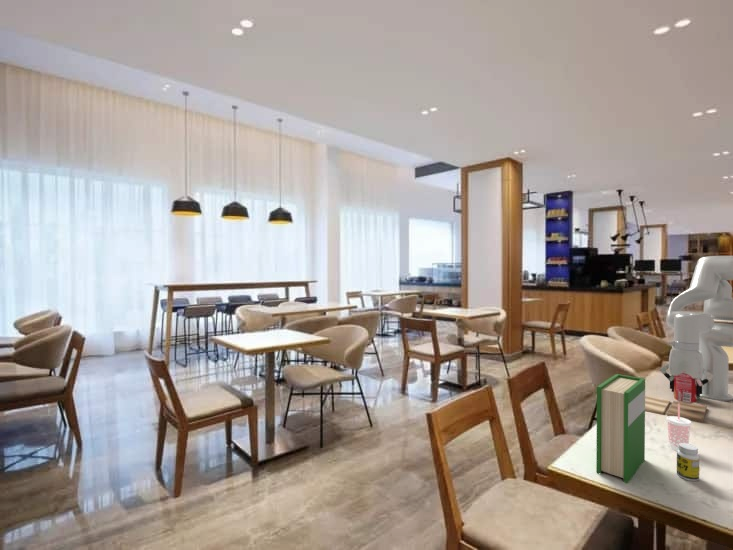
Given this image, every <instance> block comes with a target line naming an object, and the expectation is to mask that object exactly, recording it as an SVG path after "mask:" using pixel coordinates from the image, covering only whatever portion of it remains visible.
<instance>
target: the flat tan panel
mask: <svg viewBox="0 0 733 550" xmlns="http://www.w3.org/2000/svg"><path fill="white" fill-rule="evenodd" d="M670 404H671V400H670V399H665V398H660V397H657V396H656V397H655V396H649V395H645V412H648V413H654V414H658V415H664V414H665V412H666V410H667V408H668V407H669V405H670Z"/></svg>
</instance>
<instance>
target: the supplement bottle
mask: <svg viewBox="0 0 733 550" xmlns="http://www.w3.org/2000/svg"><path fill="white" fill-rule="evenodd" d="M700 461H701V460H700V456H699V449H698V447H697V446H696V445H693V444H690V443H689V444H687V443H680V444H679V450H678V451H677V452H676V475H677V476H679V477H680V478H681V479H684V480H686V481H691V482H696V481H699V480H700V464H701V463H700Z"/></svg>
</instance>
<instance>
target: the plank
mask: <svg viewBox="0 0 733 550" xmlns="http://www.w3.org/2000/svg"><path fill="white" fill-rule="evenodd" d="M678 404H680V417H682V418H685V419H688V420H690V421H691V422H697V423H701V424H703V423H704V419H705V415H706V412H707V408H708V407H707V405H703V404H697V403H692V404H687V403H682V402H679V401H677V400H673V402H672V404H671V405H670V407H669V409H668V411H667V412H666V417H667V416H677V417H678Z"/></svg>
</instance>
